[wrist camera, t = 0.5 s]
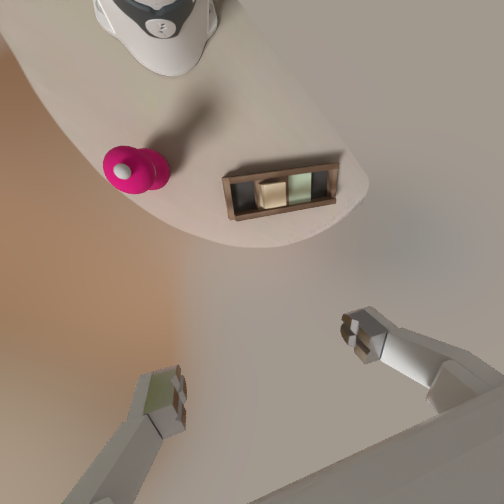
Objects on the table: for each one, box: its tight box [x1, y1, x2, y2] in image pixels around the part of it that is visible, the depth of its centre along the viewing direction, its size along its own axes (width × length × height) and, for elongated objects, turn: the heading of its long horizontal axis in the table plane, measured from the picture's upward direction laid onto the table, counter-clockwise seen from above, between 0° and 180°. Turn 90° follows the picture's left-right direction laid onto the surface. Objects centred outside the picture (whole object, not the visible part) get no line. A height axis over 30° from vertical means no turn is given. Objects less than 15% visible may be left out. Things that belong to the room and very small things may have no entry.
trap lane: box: [222, 163, 339, 221], centre depth 47 cm, size 9×28×4 cm, turn 97°
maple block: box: [258, 181, 286, 209], centre depth 44 cm, size 5×5×4 cm
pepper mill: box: [103, 146, 170, 194], centre depth 31 cm, size 7×7×20 cm
